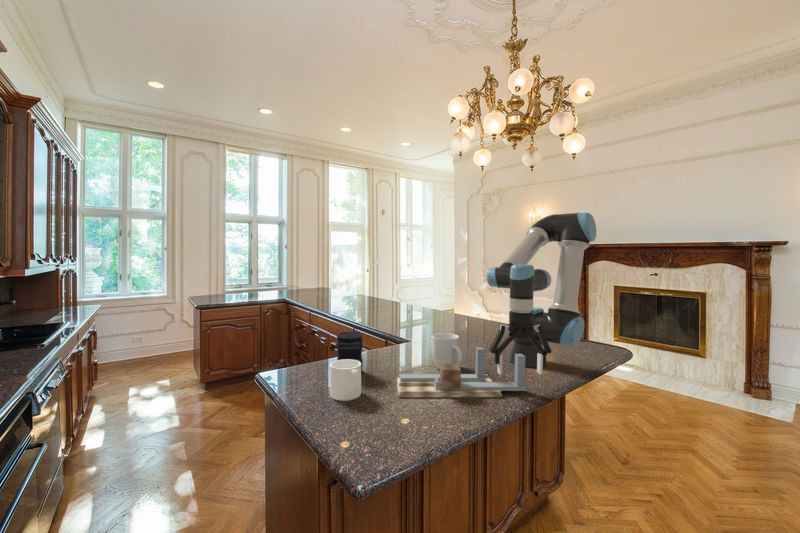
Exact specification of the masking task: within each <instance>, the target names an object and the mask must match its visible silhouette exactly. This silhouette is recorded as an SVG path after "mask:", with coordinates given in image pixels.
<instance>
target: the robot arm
mask: <svg viewBox="0 0 800 533" xmlns="http://www.w3.org/2000/svg"><path fill="white" fill-rule="evenodd" d="M596 238H597V225H596V221H595V218H594V216H593V215H592V214H591V213H589V212H573V213H560V214H556V213H555V214H550V215H549V214H548V215H547V216H544V217H542V218H540V220H539V219H538V221H536V222H535V223H534V224H532V226H530V228H528V230H527V231H526V233H525V237H524V238H523V239H522V240H521V241H520V243H518V245H517V246H516V247H515V248H514V249H513V251H512V252H511V253H510V254H509V255H508V256H507V258H506V259H505V260H504V261H503V262H502V263H501V264H500V265H499V267H497V266H495V267H491V268H489V269H488V270H487V273H486V281H487V284H488V285H489V286H490V287H493V288H498V289H500V288H501V289H509V310H510V311H509V312H508V317H509V318H508V325H504V324H499V327H498V331H497V333H496V335H495V338H494V339H493V341H492V343H491V345H490V347H489V349H488V350H489V351H490V353H491V354H493V355H494V363H495V364H496V365H497V366H496V367H497V370H496V371H497V373H498V375H500V376H503V354H502V353H503V352H504V350H505V349H506V348H507V347H508V346H509V345H510V343H511V342H512V341H513V344H512V346H511V349H510V352H509V355H508V362H510V363H511V364H513V365H515V354H523V355H524V356H525V368H534V369H535V368H536V373H537V374H539V375H540V376H542V375H543V372H544V371H543V368H544V367H545V366H547V364H548V363H547V362H548V359H547V355H548V354H551V353H552V348H551V347H550V345H549V343H552V344H557V345H561V346H567V347H574V346H576V345H578V344H579V342H580V341H581V340H582V337H583V334H584V332H585V320H584V318H583V317H581V312H580V311H579V310H578V308H577V306H578V299H579V293H580V292H579V290H580V284H581V278H582V269H583V262H584V253H585V250H586V249H588V248H589V247H590V242H591V243H592V242H595V241H596ZM552 242H557V245H558V246H559V248H560V253H559V261H558V268H557V274H556V275H557V276H556V282H555V287H554V288H555V289H554V295H553V303H552V305H550V306H549V307H548V309H547V312H545V309H544V308H543V307H534V293H535V292H538V291H539V292H542V291H544V290H546V289H547V288H549V287H550V285H551V283H552V276H551V274H550V273H549V272H548V271H547V270H546V269H543V268H535V267H534V265H532V264H529V263H530V261H531V260H532V259H533V257H534V256H535V255H536V254H537V252H538V251H539V250H540V249H541V248H542V247H545V246H546V245H547V244H548V243H552ZM507 331H509V332H508V334H506V337H505V338H504V339H503V337H504V335H505V333H506V332H507ZM502 339H503V341H502ZM500 342H501V343H500Z"/></svg>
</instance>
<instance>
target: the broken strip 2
mask: <svg viewBox="0 0 800 533" xmlns="http://www.w3.org/2000/svg"><path fill="white" fill-rule="evenodd" d="M474 364H475V368H474V372H475V373H461V382H485V377H484V374H485V348H483V347H481V346H480V347H479V346H476V347H475V363H474Z"/></svg>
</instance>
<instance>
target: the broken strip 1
mask: <svg viewBox="0 0 800 533" xmlns="http://www.w3.org/2000/svg"><path fill="white" fill-rule="evenodd" d="M435 378H438V380H439V382H440V373H400V382H435Z"/></svg>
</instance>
